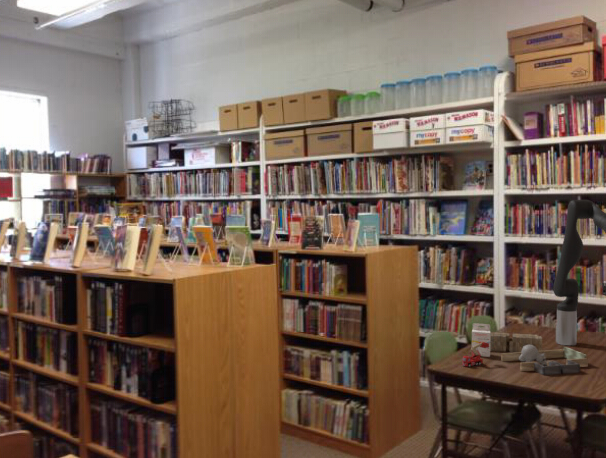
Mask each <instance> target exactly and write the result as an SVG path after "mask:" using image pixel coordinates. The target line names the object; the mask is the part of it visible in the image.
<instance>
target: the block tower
mask: <svg viewBox="0 0 606 458" xmlns="http://www.w3.org/2000/svg"><path fill="white" fill-rule="evenodd" d="M510 336H511V335H510V333H506V332H496V331H495V332H492V331H491V341H490V352H491V351H492V352H504V353H507V351H509V352H508V353H514V352H521V351H522V348H523V346H526V345H533V346H535V347H536V348H537V349H538V351H543V337H542V336H540V335H538V334H527V333H512V338H510Z"/></svg>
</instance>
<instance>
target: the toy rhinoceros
mask: <svg viewBox="0 0 606 458" xmlns="http://www.w3.org/2000/svg"><path fill="white" fill-rule="evenodd" d="M521 353H522V354H521V355H520V357H519V360H518V361H520V362H537V363H539V364H541V365H543V366H547V361H550V360H549V359H546V358H545V356H544V354H545V353H543V354H540V353H538V349H537V348H536V347H535V346H533V345H526V346H523V348H522V351H521Z"/></svg>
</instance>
